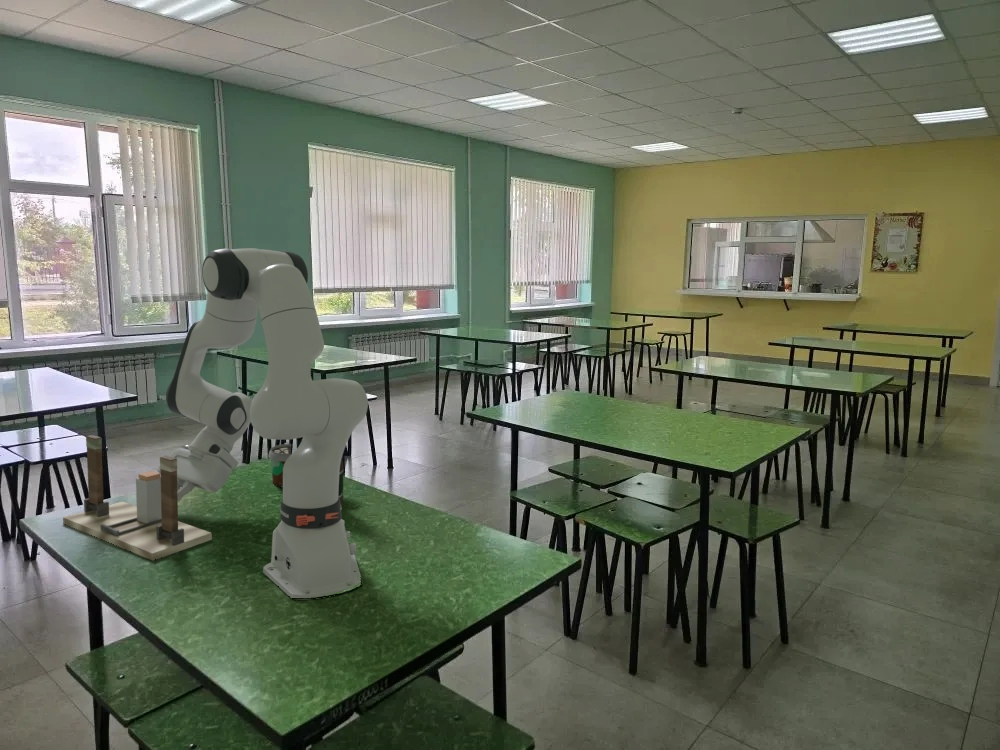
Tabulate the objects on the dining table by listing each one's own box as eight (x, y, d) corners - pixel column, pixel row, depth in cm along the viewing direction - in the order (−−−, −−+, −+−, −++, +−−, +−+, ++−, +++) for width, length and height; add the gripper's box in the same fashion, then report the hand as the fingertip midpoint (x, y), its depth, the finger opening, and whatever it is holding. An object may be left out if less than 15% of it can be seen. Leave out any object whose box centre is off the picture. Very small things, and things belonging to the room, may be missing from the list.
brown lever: (168, 534, 146) (166, 455, 143) (179, 538, 144) (177, 458, 142) (160, 537, 144) (159, 457, 142) (171, 541, 143) (169, 460, 140)
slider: (153, 515, 158) (152, 470, 156) (163, 519, 156) (162, 473, 154) (137, 520, 154) (135, 474, 153) (147, 524, 152) (146, 477, 151)
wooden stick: (95, 507, 160) (93, 434, 157) (104, 511, 158) (102, 437, 155) (88, 509, 158) (85, 436, 155) (97, 513, 156) (94, 438, 154)
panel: (211, 539, 150) (211, 520, 149) (152, 560, 138) (152, 539, 137) (122, 507, 167) (122, 489, 166) (63, 523, 154) (62, 504, 154)
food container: (268, 476, 197) (269, 443, 196) (290, 476, 199) (290, 443, 197) (267, 490, 185) (267, 455, 184) (290, 489, 187) (291, 454, 186)
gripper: (174, 437, 169) (137, 483, 162) (227, 450, 159) (191, 500, 152) (190, 450, 174) (155, 496, 167) (243, 464, 164) (208, 514, 157)
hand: (173, 498), depth 159 cm, fingers closed
